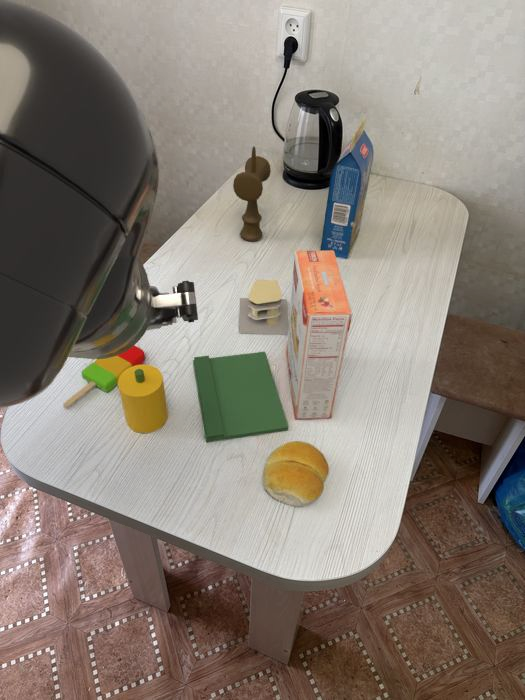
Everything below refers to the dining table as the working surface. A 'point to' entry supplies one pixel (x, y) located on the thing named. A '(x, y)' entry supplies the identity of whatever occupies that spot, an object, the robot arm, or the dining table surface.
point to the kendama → (252, 194)
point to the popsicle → (107, 372)
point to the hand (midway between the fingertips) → (115, 319)
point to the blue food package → (347, 194)
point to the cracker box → (316, 333)
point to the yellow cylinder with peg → (143, 398)
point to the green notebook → (238, 396)
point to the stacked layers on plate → (264, 310)
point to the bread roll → (295, 473)
